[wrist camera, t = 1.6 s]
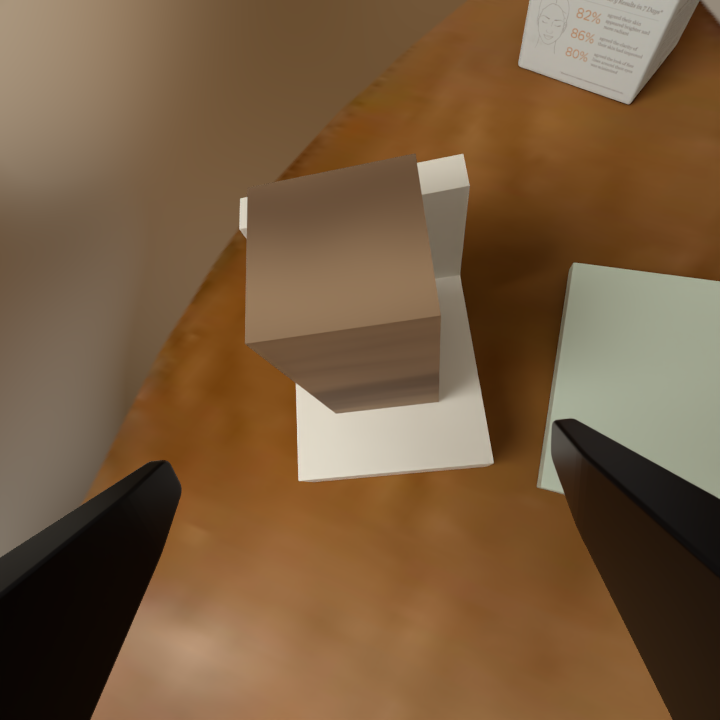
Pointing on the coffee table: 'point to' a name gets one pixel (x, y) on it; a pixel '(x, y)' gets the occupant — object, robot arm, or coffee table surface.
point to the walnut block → (345, 285)
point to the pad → (641, 369)
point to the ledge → (456, 375)
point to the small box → (602, 41)
